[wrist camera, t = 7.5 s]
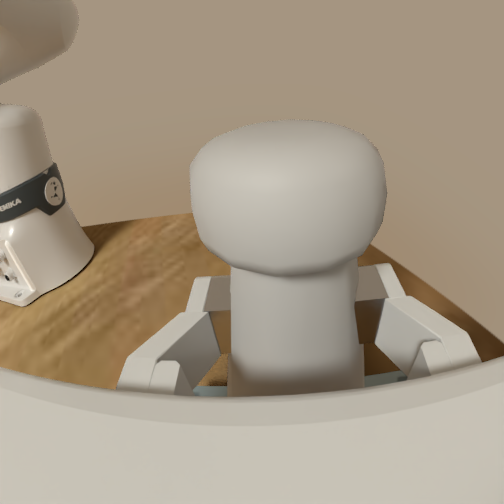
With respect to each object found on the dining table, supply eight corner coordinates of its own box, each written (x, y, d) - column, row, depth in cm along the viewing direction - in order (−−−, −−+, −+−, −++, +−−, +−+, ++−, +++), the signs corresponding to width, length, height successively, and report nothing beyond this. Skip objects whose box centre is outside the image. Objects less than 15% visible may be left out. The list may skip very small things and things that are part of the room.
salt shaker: (251, 368, 16) (203, 114, 9) (357, 375, 15) (392, 108, 8) (223, 465, 12) (81, 192, 5) (350, 479, 10) (475, 190, 3)
